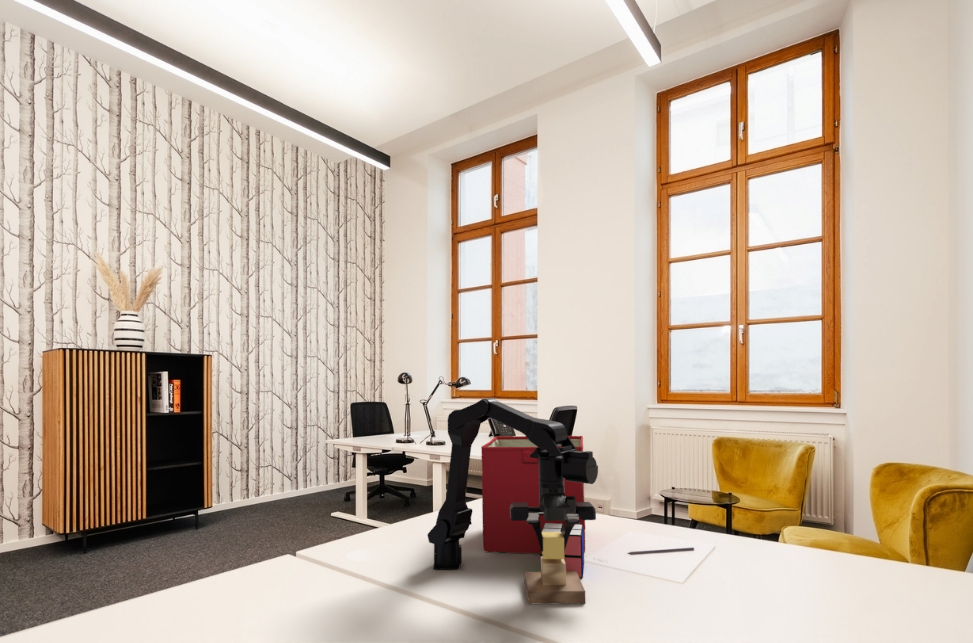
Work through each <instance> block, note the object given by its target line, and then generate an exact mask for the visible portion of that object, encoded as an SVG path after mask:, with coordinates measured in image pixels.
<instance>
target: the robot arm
mask: <svg viewBox="0 0 973 643" xmlns="http://www.w3.org/2000/svg"><path fill="white" fill-rule="evenodd" d="M448 414H449V415H448V417H447V434H448V436H449V439H450V441H451V451H450V458H449V459H450V461H449V467H448V468H449V469H448V470H449V471H448V477H447V484H446V485H447V487H446V494H445V495H446V496H445V500H444V502H443V504H442V505H441V507H440V509H439V510H438V515H437V517H436V520H435V522H436V523H435V525H434V526H433V527H432V529H430V530H429V532H428V533H427V541H428V542H429V544H432V545H433V567H432V569H433V570H459V569H460V566H461V565H462V562H463V554H462V551H463V547H462V546H463V545H462V544H460V539H463V538H465V537H466V536H465V535H466V532H467V531H468V530H469V528H470V526H471V525H472V524H473V523H472V515H473V509H472V508H470V507H468V504H467V503H466V495H467V488H468V487H467V486H468V478H469V471H470V470H469V469H470V468H469V467H470V459H471V453H472V452H471V451H472V445H473V444H474V442H475V440H476V439H477V437H478V435H479V431H480V428H481V425H482V423H484V422H486V421H488V420H489V419H492V420H494V421H497V422H499V423H501V424H503V425H505V426H507V427H509V428H512V429H514V430H515V431H518V433H519V432H520V433H521V434H522V435H523V436H526V437H527V438H528V440H529V441H530V442H532V443H533V444H534V445H536V446H537V448H536V449H535V451H534V452H533V453H532V454H530V457H531V458H538V466H539V507H528V504H527V502H512V503H511V505H510V518H511V520H513V521H525V520H526V522H527V524H531V525H532V526H533V528H534V530H535V533H536V535H537V538H538V542H539V545H540V548H541V551H543V540H542V533H541V524H540V520H539V515H544V519H545V520H546V521H552V520H560V521H563V532H562V535H563V537H564V551H565V548H566V545H567V542H568V539H569V535H570V533H571V530H572V528H573V527H574V525H575V524H579V523H580V521H579V519H578V517H579V518H580V519H581V520H585V521H595V520H597V512H596V508H595V507H594V505H593V504H592V503H591V502H590V501H584V502H576V500H575V496H565V494H564V478H565V479H566V480H567V481H570V482H579V483H584V484H587V485H589V484H590V485H593V484H594V483H595V482H596V481H597V478H598V474H599V465H598V464H597V460H596V458H595V457H594V452H593V450H592V451H590V450H585V451H583V452H582V451H577V449H576V447H575V446H574V444H573V443H572V441H571V440H570V438H569V437H568V436H569V435H568V433H567V430H566V427H565V425H564V424H563V423H561V422H558V421H556V420H555V421H554V420H550V419H544V418H537V417H533V416H531V415H529V414H527V413H525V412H523V411H520V410H518V409H516V408H513V407H512V406H509V405H507V404H505V403H503V402H501V401H499V400H497V399H496V398H493V397H491V398H490V397H489V398H482V399H480V400H478V401H477V402H475V403H472V404H470V405H469V406H466V407H463V408H462V409H454V410H453V411H451V412H450V413H448ZM558 447H561V448H558Z"/></svg>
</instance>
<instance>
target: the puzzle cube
mask: <svg viewBox="0 0 973 643" xmlns="http://www.w3.org/2000/svg"><path fill="white" fill-rule="evenodd" d="M542 532H563V524H553V523H545V524H544V526H543V529H542V531H541V533H542ZM540 549H541V548H540ZM541 557H543V555H542V551H541V554H540V558H541ZM564 561H565V563H566V571H576V572H577V574H578V576H579V578H580V579H583V578H584V570H585V553H584V531H583V525H577V524H575V525H574V527H573V528H572V530H571V533H570V535H569V539H568V542H567V545H566V548H565V551H564Z"/></svg>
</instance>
